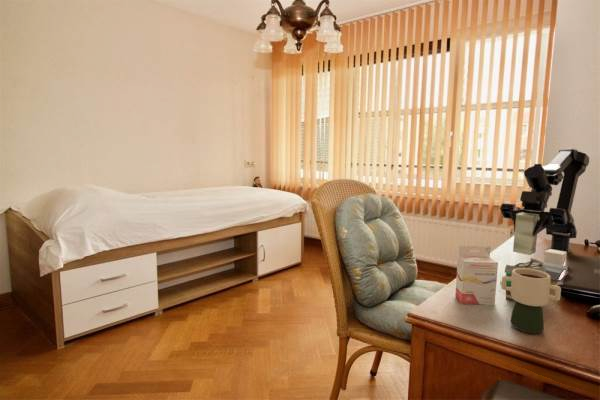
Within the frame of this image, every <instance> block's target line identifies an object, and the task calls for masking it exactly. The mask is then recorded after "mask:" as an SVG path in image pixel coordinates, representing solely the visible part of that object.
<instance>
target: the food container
mask: <svg viewBox="0 0 600 400" xmlns="http://www.w3.org/2000/svg"><path fill="white" fill-rule="evenodd" d="M542 262H543V261H542ZM542 262H541V260H539V259H538V260H537V259H535V258H533V257H531V258H530V261H527V262H519V263H517V264H515V265H510V264H506V265H505V269H504V273H505V276H507V277H512V270H514V269H517V268H528V269H535V270H539V271H542V272H545V273H546V269H545V266H544V264H543V263H542ZM506 286H507V287H511V281H507V282H506ZM505 300H506V301H508V302H511V303H515V302H516V301H515V300H514V299H512V297H511V291H507V290H505Z"/></svg>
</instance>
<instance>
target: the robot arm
mask: <svg viewBox="0 0 600 400" xmlns="http://www.w3.org/2000/svg"><path fill="white" fill-rule="evenodd" d="M589 164H590V157H589V156H588V154H587V153H584V152H582V151H579V150H578V149H576V148H562V149H559V151H558V154H556V156H555V157H554V158H553V159H552V160H551V161H550V163H548V164H547V165H542V163H534V164H533V166H529V167H528V168H526V169H525V170H524V172H523V175H524V178H525V180H526V183H527V186H528V187H529V188H530V191H526V190H522V191H521V193H520V199H519V200H520V202H522V203H521V207H523V208H520V207H518V206H516V205H515V203H505V202H503V203H501V205H500V207H499V210H500V212H501V215H502V217H503V218H504V219H511V221H512V222H513V232H514V233H515V223H516V214H518V213H521V212H524V213H532V214H539V221H538V223H537V225H536V227H535V229H534V232H533V236H535V235H537V236H538V234H540V233H541V232H542V231H543V230H545V234H546V235H549V236H551V243H550V247H549V248H548V249H553V250H559V251H565V252H567V255H568V254H569V253H571V252H572V249H571V248H570V241H571V239H576V238H577V233H578V231H577V228H576V224H575V219H574V217H573V214H572V213H571V212H572V208H573V202H574V199H575V194H576V190H577V184H578V181H579V178H580V176H582V175H583V174H584V173H585V172H586V169H587V167H589ZM560 183H561V186H560V191H559V195H558V199H557V203H556V207H550V208H549V211H545V209H546V208H547V207H548V201H549V199H550V197H552V195H553V193H552V192H553V187H552V186H558V185H560Z"/></svg>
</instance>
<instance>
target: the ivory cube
mask: <svg viewBox="0 0 600 400" xmlns="http://www.w3.org/2000/svg"><path fill="white" fill-rule="evenodd" d="M567 255H568V254H567V252H565V251H559V250H553V249H549V248H547V250H545V251H544V258H543V259H544V260H543V262H547V263H552V264H557V265H562V266H563V264H564V262H565V260H566V261H567Z"/></svg>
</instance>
